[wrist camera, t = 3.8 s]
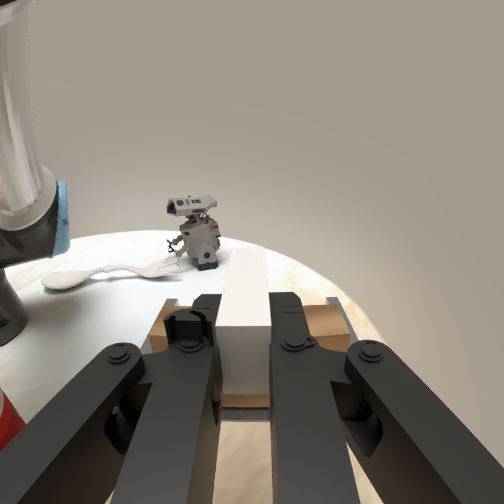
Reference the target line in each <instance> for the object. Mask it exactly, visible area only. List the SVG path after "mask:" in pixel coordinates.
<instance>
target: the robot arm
mask: <svg viewBox="0 0 504 504" xmlns="http://www.w3.org/2000/svg"><path fill="white" fill-rule="evenodd" d="M35 1H37V0H0V346H1V345H3V344H5V343H6V342H8V341H10V340H11V339H12V338H14V337H15V336H16V335H17V334H18V333H19V332H20V331H21V330H22V329H23V327H24V326H25V324H26V322H27V313H26V310H25V307H24V305H23V303H22V301H21V300H20V298H19V297H18V295H17V294H16V292H15V291H14V289H13V288H12V286H11V285H10V283H9V282H8V280H7V278H6V275H5V271H4V268H7V267H11V266H15V265H19V264H23V263H27V262H31V261H35V260H39V259H44V258H53V257H54V256H56V255H59V254H63V253H65V252H66V251H67V250H68V249H69V247H70V234H69V223H68V204H67V184H66V183H65V182H64V181H59V180H58V181H55V178H54V176H53V174H52V173H51V171H50V170H49V169H47V168H45V167H44V166H42V165H41V160H40V155H39V150H38V145H37V139H36V133H35V127H34V120H33V112H32V105H31V93H30V80H29V20H30V9H31V6H32V5H33V4H34V3H35ZM163 321H164V326H165V331H166V336H167V340H168V346H167V349H166V350H164V351H161V352H157V353H150V354H143V355H142V354H141V351H140V349H139V348H138V347H137V346H136V345H134V344H132V343H125V342H123V343H115V344H113V345H110V346H108V347H106V348H105V349H103V350H102V351H101V352H100V353H99V354H98V355H97V356H96V357H95V358H94V359H92V360H91V361H90V362H89V363H88V364H87V365H86V366H85V367H84V368H83V369H82V370H81V371H80V372H79V373H78V374H77V375H76V376H75V377H74V378H73V379H72V380H71V381H70V382H69V383H68V384H67V385H66V386H65V387H64V388H63V389H61V390H60V391H59V392H58V393H57V394H56V395H55V396H54V397H53V398H52V399H51V400H50V401H49V402H48V403H47V404H46V405H45V406H44V407H43V408H42V409H41V410H40V411H39V412H38V413H37V414H36V415H35V416H34V417H33V418H32V420H31V421H30V422H29V423H28V424H27V425H26V426H25V427H24V428H23V429H22V430H21V431H20V432H19V433H18V434H17V435H16V436H15V437H14V438H13V439H12V440H11V441H10V442H9V443H8V444H7V445H6V446H5V448H4V449H3V450H2V451H1V452H0V504H105V502H106V501H107V499H108V498H109V496H110V495H111V493H112V492H113V490H114V489H115V490H114V493H113V496H112V499H111V502H110V504H212V499H213V489H214V480H215V470H216V461H217V452H218V442H219V433H220V424H221V416H222V407H223V406H222V399H221V393H222V387H223V394H270V408H269V420H270V430H271V457H272V486H273V504H360V499H359V495H358V491H357V486H356V482H355V477H354V473H353V469H352V465H351V461H350V457H349V453H348V448H347V445H346V442H347V444H348V445H349V447H350V449H351V450H352V452H353V454H354V455H355V457H356V459H357V460H358V462H359V464H360V465H361V467H362V469H363V470H364V472H365V474H366V475H367V477H368V479H369V480H370V482H371V484H372V485H373V487H374V488H375V490H376V492H377V493H378V495H379V497H380V498H381V500H382V502H383V503H384V504H504V468H503V467H502V466H501V465H500V464H499V462H498V461H497V460H496V459H495V458H494V457H493V456H492V455H491V453H490V452H489V451H487V449H486V448H485V447H484V446H483V445H482V444H481V443H480V441H479V440H478V439H477V438H476V437H475V436H474V435H473V434H472V433H471V432H470V431H469V429H468V428H467V427H466V426H465V425H464V424H463V423H462V422H461V421H460V420H459V419H458V418H457V417H456V416H455V414H454V413H453V412H452V411H451V410H450V409H449V408H448V407H447V406H446V405H445V404H444V403H443V402H442V401H441V400H440V399H439V398H438V397H437V396H436V395H435V394H434V393H433V391H432V390H430V388H429V387H428V386H427V385H426V384H425V383H424V382H423V381H422V380H421V379H420V378H419V377H418V376H417V375H416V374H415V373H414V372H413V371H412V370H411V369H410V368H409V367H408V366H407V365H406V364H405V363H404V362H403V361H402V360H401V359H400V358H399V357H398V356H397V355H396V354H395V353H394V352H393V351H392V350H391V349H390V348H389V347H388V346H386V345H385V344H383V343H381V342H378V341H374V340H361V341H357V342H355V343H353V344H351V346H350V347H349V348H348V350H347V352H340V351H333V350H329V349H326V348H323V347H321V346H319V343H318V341H317V340H316V338H315V337H313V336H312V335H310V331H309V327H308V324H307V320H306V317H305V313H304V310H303V307H302V303H301V299H300V298H299V297H298V296H297V295H296V294H295V293H294V292H272V293H269V292H268V281H267V270H266V259H265V248H264V247H259V248H233V249H232V254H231V258H230V262H229V267H228V271H227V275H226V280H225V284H224V289H223V293H222V294H201V295H200V296H199V297H198V298H197V299H195V300H194V302H193V305H192V307H191V308H186V309H180V310H177V311H174V312H172V313H170V314H168V315H167V316H166V317H165V318H164V319H163ZM116 406H117V407H116ZM115 407H116V408H115ZM345 440H346V441H345Z"/></svg>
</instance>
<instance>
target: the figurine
mask: <svg viewBox="0 0 504 504" xmlns="http://www.w3.org/2000/svg"><path fill="white" fill-rule="evenodd" d="M216 206H217V201H216V200H215V199H214V198H213V197H210V196H199V197H190V196H188V197H187V198H175V199H169V201H168V205H167V213H168V214H170V215H173V216H186V218H189V220H188V221H186V222H185V223H184V224H183V225H181V226H180V231H181V233H182V235H179V236H177V238H176V239H173V241H172V242H170V241H169V240H167V241H168V242H169V243H170V245H169V246H168V247H169V249H170V248H171V249H172V250H171V251H170V252H175V253H176V256H177V257H181V256H182V254H183V253H184V252H186V251H187V254H188V256H189V257H190V258H198V263H197V268H198V270H200V271H202V270H203V269H204V270H206V269H207V268H210V269H212V268H214V269H215V268H216V267H218V263H217V260H216V254H215V252H216V251H217V250H218V249H219V246H220V242H219V239H217V238H218V237H220V233H219V229H218V224H217V222H215V221H214V220H213V219H212V218H210V217H209V215H207V216H205V218H203V215H204V214H206V212H207V211H208V210H209V209H210V208H211V207H216ZM203 213H204V214H203ZM201 214H203V215H202V217H200V215H201ZM211 219H212V220H213V221H214V222H213V221H212V220H211ZM182 240H183V241H184V244H185V245H183V246H182V248H181V249H180V250H178V251H176V250H174V249H173V248H172V247H171V244H173V245H177V244H178V242H180V241H182ZM170 252H169V253H170Z"/></svg>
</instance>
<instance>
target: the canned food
mask: <svg viewBox="0 0 504 504" xmlns="http://www.w3.org/2000/svg"><path fill="white" fill-rule="evenodd" d="M25 426H26V423H25V422H24V421H23V419H22V418H21V417H20V415H19V414H18V412H17V411H16V410H15V408H14V407H13V405H12V404H11V402H10V401H9V399H8V398H7V396H6V395H5V393H4V392H3V390H2V389H1V387H0V452H1V451H2V450H3V449H4V448H5V446H6V445H7V444H8V443H9V442H10V441H11V440H12V439H13V438H14V437H15V436H16V435H17V434H18V433H19V432H20V431H21V430H22V429H23V428H24V427H25Z"/></svg>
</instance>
